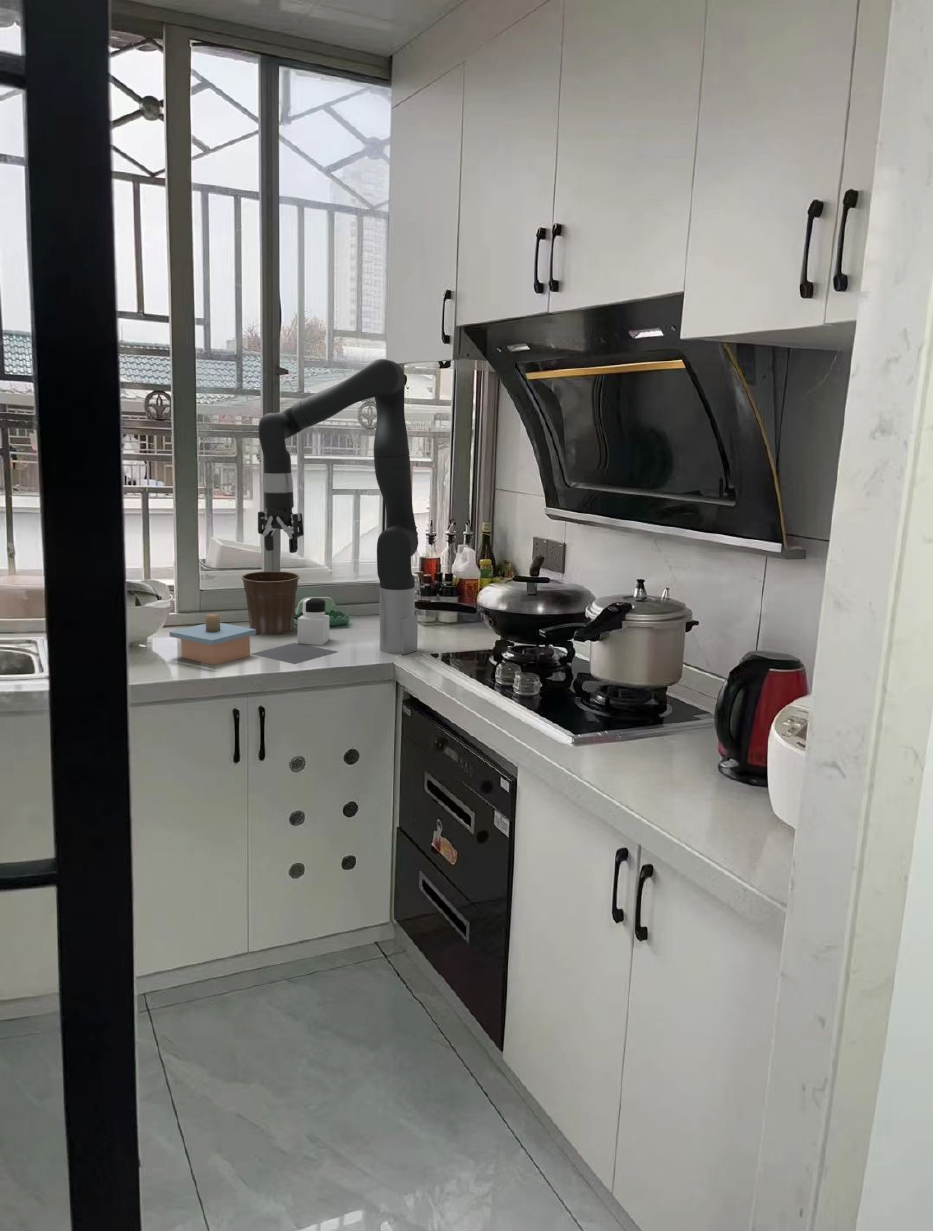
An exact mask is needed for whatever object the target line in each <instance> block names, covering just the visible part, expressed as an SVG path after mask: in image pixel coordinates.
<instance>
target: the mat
mask: <svg viewBox="0 0 933 1231" xmlns="http://www.w3.org/2000/svg"><path fill="white" fill-rule="evenodd" d="M336 653H338V651H336V650H332V649H328V648H323V647H317V646H313V645H309V644H298V643H297V642H293V643H292V642H291V643H289V644H288V643H287V644H285V645H280V646H276V647H273V648H268V649H264V650H259V651H256V652H252V653H251V655H253V656H257V657H261V658H262V657H263V658H267V659H271V660H275V661H280V662H283V663H288V664H291V665H292V664H293V665H296V664H301V663H303V662H307V661H308V662H309V661H311V660H315V659H318V658H322V657H327V656H329V655H333V654H336Z"/></svg>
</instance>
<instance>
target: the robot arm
mask: <svg viewBox="0 0 933 1231" xmlns="http://www.w3.org/2000/svg"><path fill="white" fill-rule="evenodd" d="M405 382H406V378H405V373H404V370H403V369H402V367H401V366H400V365H399V364H398V363H397V362H395V361H394V360H390V359H385V358H379V359H375V360H373V361H372V362H370V363H369V364H367V365H366V366H364V368H361V369H360V370H358V372H356V373H355V374H353V375H351V376H350V377H348V378H346V379H345V380H342V381H341V382H339V383H337V384H334V385H333V386H330V387H328V388H325V389H323V390H321V391H318V392H316V393H313V394H311V395H309V396H307V397H305V398H303V399H301V400H298V401H297V402H295V403H293V405H292V406H290V407H289V408H287V409H284V410H282V411H278V412H268V413H265V414H264V415H262V416H261V418H260V420H259V423H258V437H259V443H260V447H261V452H262V454H263V455H262V456H263V469H264V470H263V474H264V475H263V493H264V497H263V498H264V508H265V509H266V510H263V511H258V512H257V533H258V534H259V535H262V536H263V538H264V547H265V551H268V552H271V551H273V550H274V536H273V534H274V532H275V531H276V530H278V529H279V530H282V531H283V532H284V533H286V534H287V536H288V538H289V539H288V547H289V548H288V552H289V553H290V554H295V553H298V548H299V545H298V544H299V543H298V538H299V537H300V538H301V537H303V536H305V533H304V523H303V522H304V521H303V514H302V513H293V508H294V506H295V505H294V504H295V501H294V500H295V499H294V481H293V474H292V458H291V454H290V452H289V451H288V450H287V447H286V439H289V438H291V437H292V436H295V435H297V434H298V433H300V432H302V431H303V430H304V429H307V428H310V427H313V426H314V425H317V424H319V423H321V422H324V421H327V420H329V419H330V418H332V417H334V416H336V415H337V414H338V413H340V412H342V411H343V410H346V409H347V408H348V407H350V406H352V405H354V404H358V403H359V402H362V401H365V400H369V399H373V398H374V401H375V409H376V410H375V411H376V426H375V433H374V441H373V463H374V474H375V478H376V482H377V485H378V488H379V491H380V494H381V496H382V499H383V502H384V505H385V513H386V529H384V530H383V531H382V532H381V533H380V534H379V536H378V538H377V543H376V569H377V570H376V571H377V572H376V573H377V578H378V580H379V650H380V652H383V653H386V654H400V655H407V654H410V653H414V652H417V651H418V639H419V638H418V635H419V634H418V631H419V630H418V629H419V628H418V627H419V626H418V624H419V623H418V622H419V621H418V620H419V617H418V616H417V615H416V614H415V612H416V610H415V609H416V608H415V607H416V605H415V603H416V602H415V601H416V599H415V598H416V578H415V576H414V575H413V572H412V557H413V556H414V555H415V553H416V552H417V550H418V547H419V537H418V536H419V535H418V531H417V530H418V529H417V525H416V520H415V514H414V508H413V493H412V492H413V490H412V489H413V488H412V475H411V473H412V471H411V468H412V467H411V457H410V456H411V455H410V446H409V438H408V430H407V423H406V416H405V396H406V395H405V392H406V390H405V388H406V383H405Z"/></svg>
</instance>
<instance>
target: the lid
mask: <svg viewBox="0 0 933 1231" xmlns="http://www.w3.org/2000/svg"><path fill="white" fill-rule="evenodd" d="M204 619H205V620H204V622H205V623H203V624H199V625H198V624H197V625H194V626H190V627H185V628H180V629H176V630H172V631H169V632H168V633H169V637H170V638H176V639H180V640H181V639H184V640H189V641H194V642H199V643H204V644H209V645H214V644H218V643H222V642H226V641H230V640H234V639H238V638H242V637H246V636H253V635H257V634H256V629H251V628H250V627H245V626H241V625H240V626H239V625H234V624H229V623H224V622H223V623H222V622H221V614H219V613H207V614H205V615H204Z"/></svg>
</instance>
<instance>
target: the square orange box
mask: <svg viewBox="0 0 933 1231" xmlns="http://www.w3.org/2000/svg"><path fill="white" fill-rule="evenodd" d="M250 636H251V635H250ZM250 636H246V637H242V638H238V639H234V640H230V641H226V642H222V643H218V644H214V645H209V644H204V643H199V642H194V641H189V640H184V639H180V643H181V644H180V647H181V658H184V659H187V660H188V659H189V660H193V661H196V662H200V663H204V664H209V665H212V666H213V665H214V666H215V665H218V664H219V665H220V664H223V663H226V662H230V661H234V660H237V659H241V658H246V657H250V656H251V640H250V639H251V637H250Z"/></svg>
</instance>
